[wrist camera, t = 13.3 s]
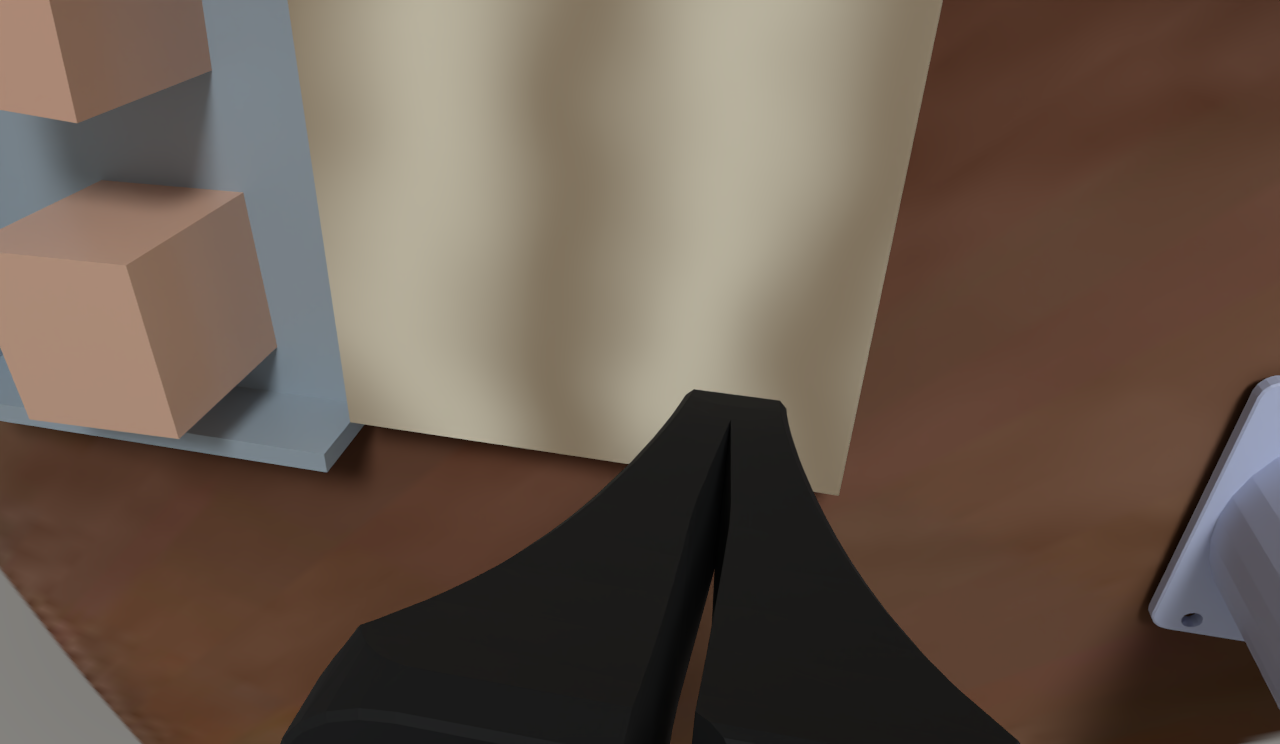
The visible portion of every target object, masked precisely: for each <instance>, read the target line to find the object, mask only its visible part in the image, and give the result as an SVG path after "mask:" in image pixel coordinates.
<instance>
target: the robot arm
mask: <svg viewBox="0 0 1280 744" xmlns="http://www.w3.org/2000/svg"><path fill="white" fill-rule="evenodd" d="M714 569H715V572H714ZM713 573H714V592H713V613H712V628H711V634H710V639H709V645H708V650H707V655H706V660H705V665H704V671H703V676H702V681H701V686H700V691H699V696H698V701H697V706H696V711H695V720H694V729H693V739H692V744H1020V743H1019V741H1018V740H1017V739H1016V738H1014V737H1013V736H1012V735H1011V734H1010V733H1009V732H1007V731H1006V730H1005V729H1004V728H1003V727H1002V726H1000V725H999V724H998V723H997V722H996V721H995V720H993V719H992V718H991V717H990V716H989V715H988V714H986V713H985V712H984V711H983V710H982V709H981V708H979V707H978V706H977V705H976V704H975V703H974V702H973V701H971V700H970V699H969V698H968V697H967V696H966V695H964V694H963V693H962V692H961V691H960V690H959V689H958V688H957V687H955V686H954V685H953V684H952V683H951V682H950V681H949V680H948V679H947V678H946V677H945V676H944V675H943V674H942V673H941V672H940V671H939V670H938V669H937V668H936V667H935V666H934V665H933V664H932V663H931V662H930V661H929V660H928V659H927V658H926V657H925V656H924V655H923V653H922V652H921V651H920V650H919V649H918V648H917V646H916V645H915V644H914V643H913V642H912V641H911V639H910V638H909V637H908V636H907V635H906V634H905V632H904V631H903V630H902V629H901V628H900V627H899V626H898V624H897V623H896V622H895V621H894V620H893V619H892V617H891V616H890V615H889V614H888V613H887V611H886V610H885V609H884V607H883V606H882V605H881V603H880V602H879V601H878V599H877V598H876V597H875V595H874V594H873V592H872V591H871V590H870V588H869V587H868V586H867V584H866V583H865V581H864V580H863V578H862V577H861V575H860V574H859V572H858V571H857V569H856V568H855V567H854V565H853V564H852V562H851V560H850V559H849V557H848V556H847V554H846V552H845V551H844V549H843V547H842V546H841V544H840V542H839V541H838V539H837V537H836V535H835V534H834V532H833V530H832V528H831V526H830V524H829V522H828V521H827V519H826V517H825V515H824V513H823V511H822V509H821V507H820V505H819V503H818V501H817V499H816V497H815V494H814V492H813V490H812V487H811V485H810V483H809V481H808V478H807V476H806V474H805V471H804V469H803V467H802V464H801V461H800V459H799V456H798V453H797V450H796V447H795V444H794V441H793V438H792V434H791V431H790V427H789V423H788V417H787V409H786V407H785V406H784V405H783V404H782V403H781V401H780V400H772V399H764V398H757V397H749V396H742V395H734V394H726V393H719V392H711V391H703V390H696V389H693V390H692V391H691V392H689V393H688V394H686V395H685V396H684V398H683V400H682V401H681V403H680V404H679V406H678V407H677V408H676V410H675V411H674V413H673V414H672V415H671V417H670V418H669V419H668V420H667V422H666V423H665V424H664V425H663V427H662V428H661V429H660V430H659V431H658V433H657V434H656V435H655V436H654V437H653V438H652V440H651V441H650V442H649V443H648V444H647V445H646V446H645V447H644V448H643V449H642V450H641V452H640V453H639V454H638V455H637V456H636V457H635V458H634V459H633V460H632V461H631V462H630V463H629V465H628V466H627V467H626V468H625V469H624V470H622V471H621V472H620V473H619V474H618V475H617V476H616V477H615V478H614V479H613V480H612V481H611V482H610V483H609V484H608V485H607V486H605V487H604V488H603V489H602V490H601V491H600V492H599V493H598V494H597V495H596V496H595V497H594V498H592V499H591V500H590V501H589V502H588V503H586V504H585V505H584V506H583V507H582V508H581V509H579V510H578V511H577V512H576V513H574V514H573V515H572V516H571V517H569V518H568V519H567V520H565V521H564V522H563V523H561V524H560V525H559V526H557V527H556V528H555V529H553V530H552V531H551V532H549V533H548V534H546V535H545V536H543V537H542V538H540V539H539V540H537V541H536V542H534V543H533V544H531V545H530V546H528V547H527V548H525V549H524V550H522V551H521V552H519V553H518V554H516V555H514V556H513V557H511V558H509V559H508V560H506V561H505V562H503V563H501V564H499V565H498V566H496V567H494V568H492V569H490V570H488V571H486V572H485V573H483V574H481V575H479V576H477V577H475V578H473V579H471V580H469V581H467V582H465V583H463V584H461V585H459V586H456V587H454V588H452V589H450V590H448V591H446V592H444V593H441V594H439V595H437V596H435V597H432V598H430V599H428V600H425V601H423V602H420V603H418V604H415V605H412V606H410V607H407V608H405V609H402V610H400V611H397V612H394V613H392V614H389V615H387V616H384V617H382V618H379V619H376V620H374V621H371V622H368V623H365V624H362V625H360V626H359V627H358V628H357V629H356V631H355V632H354V633H353V635H352V636H351V637H350V639H349V640H348V641H347V642H346V644H345V645H344V646H343V648H342V649H341V650H340V651H339V652H338V653H337V655H336V656H335V657H334V658H333V660H332V661H331V662H330V664H329V665H328V667H327V668H326V669H325V671H324V672H323V673H322V675H321V676H320V678H319V679H318V681H317V682H316V684H315V686H314V687H313V689H312V690H311V692H310V694H309V695H308V697H307V699H306V700H305V702H304V704H303V705H302V707H301V708H300V710H299V712H298V713H297V715H296V717H295V718H294V720H293V722H292V723H291V725H290V726H289V728H288V730H287V731H286V733H285V735H284V736H283V738H282V741H281V744H670V740H671V734H672V728H673V724H674V719H675V715H676V710H677V706H678V701H679V697H680V693H681V690H682V686H683V683H684V679H685V675H686V672H687V668H688V664H689V661H690V657H691V653H692V650H693V646H694V642H695V639H696V635H697V631H698V628H699V624H700V621H701V617H702V613H703V610H704V606H705V602H706V598H707V595H708V591H709V587H710V584H711V580H712V576H713ZM1148 611H1149V613H1150V616H1151V618H1152V620H1153V623H1155V624H1156V625H1157V626H1158V627H1162V628H1165V629H1171V630H1177V631H1183V632H1189V633H1195V634H1202V635H1208V636H1214V637H1220V638H1226V639H1232V640H1239V641H1245V642H1246V644H1247V646H1248V648H1249V650H1250V652H1251V654H1252V656H1253V658H1254V660H1255V662H1256V664H1257V666H1258V668H1259V670H1260V672H1261V674H1262V676H1263V678H1264V680H1265V682H1266V684H1267V686H1268V688H1269V690H1270V692H1271V694H1272V696H1273V698H1274V700H1275V702H1276V704H1277V706H1278V708H1279V710H1280V375H1279V376H1272V377H1269V378H1266V379H1264V380H1263V381H1261V382H1260V383H1258V384H1257V385H1256V387H1255V388H1254V389H1253V390H1252V392H1251V395H1250V397H1249V399H1248V401H1247V403H1246V405H1245V407H1244V409H1243V411H1242V413H1241V415H1240V417H1239V419H1238V421H1237V424H1236V426H1235V428H1234V430H1233V432H1232V434H1231V436H1230V438H1229V440H1228V442H1227V444H1226V446H1225V448H1224V450H1223V453H1222V455H1221V457H1220V459H1219V461H1218V463H1217V465H1216V467H1215V469H1214V471H1213V473H1212V475H1211V477H1210V479H1209V482H1208V484H1207V486H1206V488H1205V490H1204V492H1203V494H1202V496H1201V498H1200V500H1199V502H1198V504H1197V506H1196V509H1195V511H1194V513H1193V515H1192V517H1191V519H1190V521H1189V523H1188V525H1187V527H1186V529H1185V531H1184V533H1183V535H1182V538H1181V540H1180V542H1179V544H1178V546H1177V548H1176V550H1175V552H1174V554H1173V556H1172V558H1171V560H1170V562H1169V564H1168V567H1167V569H1166V571H1165V573H1164V575H1163V577H1162V579H1161V581H1160V583H1159V585H1158V587H1157V589H1156V591H1155V593H1154V596H1153V598H1152V600H1151V602H1150V604H1149V608H1148ZM1189 613H1195V614H1194V615H1191V616H1184V615H1187V614H1189Z"/></svg>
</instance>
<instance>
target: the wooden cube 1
mask: <svg viewBox="0 0 1280 744" xmlns="http://www.w3.org/2000/svg"><path fill="white" fill-rule="evenodd" d="M209 71H212V67H211V60H210V53H209V46H208V39H207V32H206V25H205V18H204V11H203V4H202V0H0V110H4V111H9V112H15V113H21V114H27V115H32V116H38V117H44V118H50V119H55V120H61V121H67V122H73V123H79V122H82V121H84V120H87V119H90V118H92V117H95V116H97V115H100V114H102V113H105V112H107V111H110V110H112V109H115V108H118V107H120V106H123V105H125V104H128V103H130V102H133V101H135V100H138V99H140V98H143V97H145V96H148V95H151V94H153V93H156V92H158V91H161V90H163V89H166V88H168V87H171V86H173V85H176V84H179V83H181V82H184V81H186V80H189V79H191V78H194V77H196V76H199V75H201V74H204V73H206V72H209Z"/></svg>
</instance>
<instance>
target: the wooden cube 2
mask: <svg viewBox="0 0 1280 744" xmlns="http://www.w3.org/2000/svg"><path fill="white" fill-rule="evenodd" d="M0 348H1V351H2V353H3V356H4V358H5V360H6V363H7V365H8V368H9V370H10V373H11V375H12V378H13V380H14V383H15V385H16V388H17V390H18V392H19V395H20V397H21V400H22V402H23V405H24V407H25V410H26V412H27V415H28V417H29V419H30V420H37V421H45V422H53V423H60V424H68V425H75V426H83V427H91V428H98V429H106V430H113V431H121V432H129V433H136V434H144V435H151V436H159V437H167V438H174V439H180V438H181V437H182V436H183V435H184V434H185V433H186V432H187V431H188V430H189V429H190V428H191V427H192V426H193V425H195V424H196V423H197V422H198V421H199V420H200V419H201V418H202V417H203V416H204V415H205V414H206V413H207V412H208V411H209V410H211V409H212V408H213V407H214V406H215V405H216V404H217V403H218V402H219V401H220V400H221V399H222V398H223V397H224V396H225V395H227V394H228V393H229V392H230V391H231V390H232V389H233V388H234V387H235V386H236V385H237V384H238V383H239V382H240V381H241V380H243V379H244V378H245V377H246V376H247V375H248V374H249V373H250V372H251V371H252V370H253V369H254V368H255V367H256V366H257V365H258V364H260V363H261V362H262V361H263V360H264V359H265V358H266V357H267V356H268V355H269V354H270V353H271V352H272V351H273V350H274V349H276V348H277V343H276V338H275V334H274V329H273V325H272V320H271V316H270V311H269V307H268V302H267V297H266V293H265V288H264V284H263V279H262V275H261V270H260V266H259V261H258V257H257V252H256V248H255V243H254V239H253V234H252V230H251V225H250V221H249V216H248V211H247V207H246V202H245V198H244V193H243V192H233V191H221V190H210V189H198V188H187V187H175V186H164V185H152V184H141V183H129V182H118V181H106V180H101V181H98V182H96V183H94V184H92V185H90V186H88V187H86V188H84V189H82V190H80V191H78V192H76V193H74V194H72V195H70V196H67V197H65V198H63V199H61V200H59V201H57V202H55V203H53V204H51V205H49V206H47V207H45V208H43V209H41V210H39V211H36V212H34V213H32V214H30V215H28V216H26V217H24V218H22V219H20V220H18V221H16V222H14V223H12V224H10V225H8V226H6V227H3V228H1V229H0Z"/></svg>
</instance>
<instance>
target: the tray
mask: <svg viewBox="0 0 1280 744" xmlns="http://www.w3.org/2000/svg"><path fill="white" fill-rule="evenodd" d="M202 4H203V11H204V18H205V25H206V32H207V39H208V46H209V53H210V60H211V67H212V71H209V72H206V73H204V74H201V75H199V76H196V77H194V78H191V79H189V80H186V81H184V82H181V83H179V84H176V85H173V86H171V87H168V88H166V89H163V90H161V91H158V92H156V93H153V94H151V95H148V96H145V97H143V98H140V99H138V100H135V101H133V102H130V103H128V104H125V105H123V106H120V107H118V108H115V109H112V110H110V111H107V112H105V113H102V114H100V115H97V116H95V117H92V118H90V119H87V120H84V121H82V122H79V123H73V122H67V121H61V120H55V119H50V118H44V117H38V116H32V115H27V114H21V113H15V112H9V111H4V110H0V229H1V228H3V227H6V226H8V225H10V224H12V223H14V222H16V221H18V220H20V219H22V218H24V217H26V216H28V215H30V214H32V213H34V212H36V211H39V210H41V209H43V208H45V207H47V206H49V205H51V204H53V203H55V202H57V201H59V200H61V199H63V198H65V197H67V196H70V195H72V194H74V193H76V192H78V191H80V190H82V189H84V188H86V187H88V186H90V185H92V184H94V183H96V182H98V181H101V180H106V181H118V182H129V183H141V184H152V185H164V186H175V187H187V188H198V189H210V190H221V191H233V192H243V193H244V198H245V202H246V207H247V211H248V216H249V221H250V225H251V230H252V234H253V239H254V243H255V248H256V252H257V257H258V261H259V266H260V270H261V275H262V279H263V284H264V288H265V293H266V297H267V302H268V307H269V311H270V316H271V320H272V325H273V329H274V334H275V338H276V343H277V348H276V349H274V350H273V351H272V352H271V353H270V354H269V355H268V356H267V357H266V358H265V359H264V360H263V361H262V362H261V363H260V364H258V365H257V366H256V367H255V368H254V369H253V370H252V371H251V372H250V373H249V374H248V375H247V376H246V377H245V378H244V379H243V380H241V381H240V382H239V383H238V384H237V385H236V386H235V387H234V388H233V389H232V390H231V391H230V392H229V393H228V394H227V395H225V396H224V397H223V398H222V399H221V400H220V401H219V402H218V403H217V404H216V405H215V406H214V407H213V408H212V409H211V410H209V411H208V412H207V413H206V414H205V415H204V416H203V417H202V418H201V419H200V420H199V421H198V422H197V423H196V424H195V425H193V426H192V427H191V428H190V429H189V430H188V431H187V432H186V433H185V434H184V435H183V436H182V437H181V438H180V439H174V438H167V437H159V436H151V435H144V434H136V433H129V432H121V431H113V430H106V429H98V428H91V427H83V426H75V425H68V424H60V423H53V422H45V421H37V420H30V419H29V417H28V415H27V412H26V410H25V407H24V405H23V402H22V400H21V397H20V395H19V392H18V390H17V388H16V385H15V383H14V380H13V378H12V375H11V373H10V370H9V368H8V365H7V363H6V360H5V358H4V356H3V353H2V351H1V348H0V421H5V422H11V423H17V424H24V425H30V426H36V427H43V428H49V429H55V430H62V431H68V432H74V433H81V434H87V435H93V436H100V437H106V438H112V439H119V440H125V441H131V442H138V443H144V444H150V445H157V446H163V447H169V448H175V449H182V450H188V451H194V452H201V453H207V454H213V455H220V456H226V457H232V458H239V459H245V460H251V461H258V462H264V463H270V464H277V465H283V466H289V467H296V468H302V469H308V470H315V471H321V472H328V471H329V469H330V468H331V467H332V466H333V464H334V463H335V462H336V460H337V459H338V458H339V457H340V455H341V454H342V453H343V452H344V450H345V449H346V448H347V446H348V445H349V444H350V443H351V441H352V440H353V439H354V437H355V436H356V435H357V434H358V432H359V431H360V430H361V428H362V427H363V426H364V425H365V424H358V423H352V422H350V418H349V411H348V405H347V398H346V391H345V385H344V378H343V371H342V364H341V358H340V351H339V344H338V337H337V331H336V324H335V317H334V311H333V304H332V297H331V290H330V284H329V277H328V270H327V263H326V257H325V250H324V243H323V236H322V230H321V223H320V216H319V210H318V203H317V196H316V189H315V183H314V176H313V169H312V162H311V156H310V149H309V142H308V136H307V129H306V122H305V115H304V109H303V102H302V95H301V88H300V82H299V75H298V68H297V61H296V55H295V48H294V41H293V35H292V28H291V21H290V14H289V8H288V1H287V0H202Z"/></svg>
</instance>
